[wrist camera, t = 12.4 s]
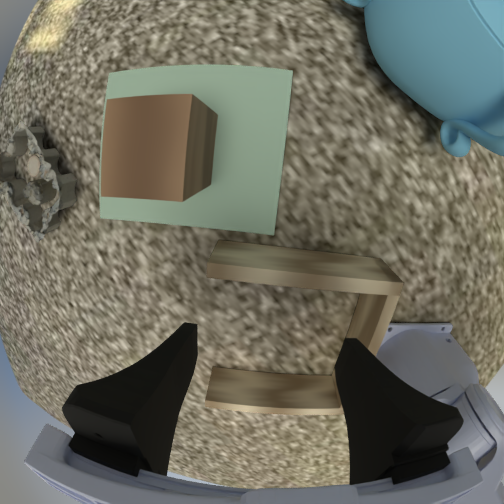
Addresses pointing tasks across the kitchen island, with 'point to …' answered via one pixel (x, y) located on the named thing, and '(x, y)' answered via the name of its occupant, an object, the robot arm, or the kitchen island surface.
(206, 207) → the sage mat
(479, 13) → the decorative pot
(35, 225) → the egg carton
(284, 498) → the robot arm
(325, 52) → the kitchen island surface
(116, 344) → the kitchen island surface
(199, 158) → the walnut block
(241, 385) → the open-side box
